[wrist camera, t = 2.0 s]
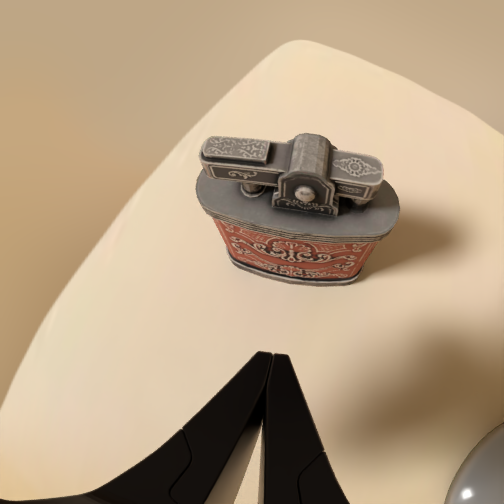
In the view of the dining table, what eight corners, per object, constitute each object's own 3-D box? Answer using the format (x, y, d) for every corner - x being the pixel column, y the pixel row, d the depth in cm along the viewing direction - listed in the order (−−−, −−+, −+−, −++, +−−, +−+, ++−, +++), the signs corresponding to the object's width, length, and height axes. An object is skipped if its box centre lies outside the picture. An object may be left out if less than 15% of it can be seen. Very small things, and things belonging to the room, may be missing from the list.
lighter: (363, 240, 19) (417, 133, 9) (358, 295, 18) (423, 219, 8) (235, 220, 20) (193, 105, 11) (222, 272, 19) (161, 181, 10)
